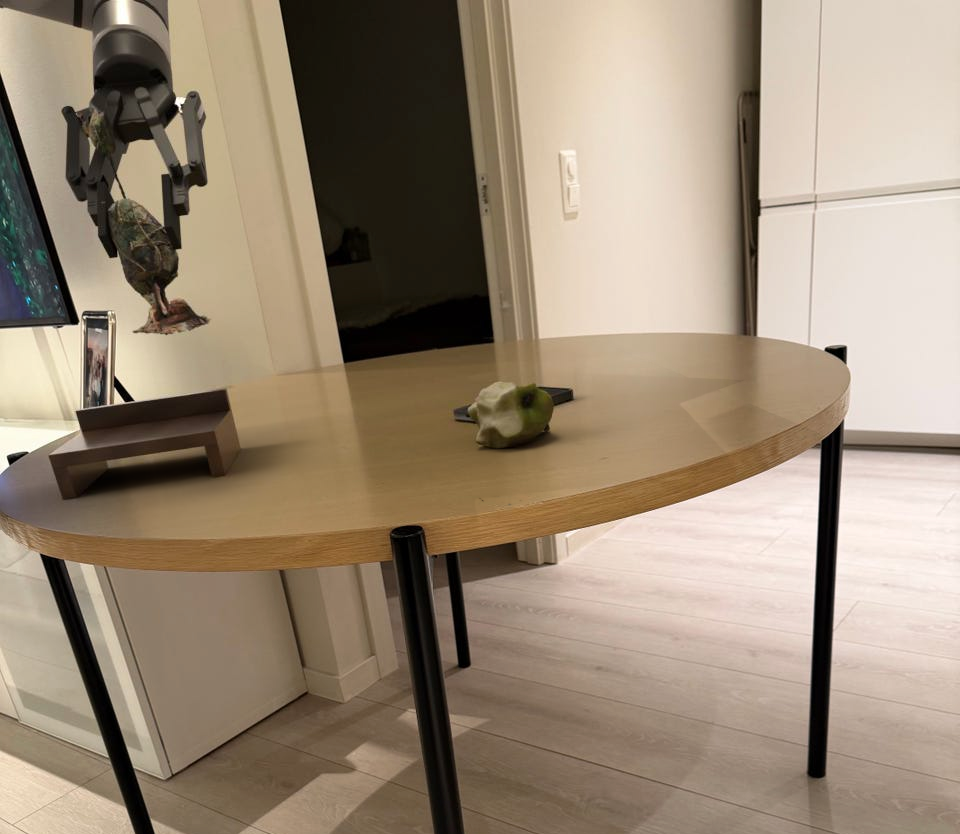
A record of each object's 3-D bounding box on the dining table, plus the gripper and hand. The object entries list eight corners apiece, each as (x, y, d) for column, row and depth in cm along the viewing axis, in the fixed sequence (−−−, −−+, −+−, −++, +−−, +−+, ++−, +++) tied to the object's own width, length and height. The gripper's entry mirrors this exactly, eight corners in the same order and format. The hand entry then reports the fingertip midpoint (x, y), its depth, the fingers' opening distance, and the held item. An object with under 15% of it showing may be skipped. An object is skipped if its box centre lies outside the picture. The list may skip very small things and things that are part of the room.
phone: (576, 388, 114) (490, 414, 106) (577, 397, 115) (491, 423, 106) (533, 386, 120) (448, 410, 111) (534, 394, 120) (450, 419, 112)
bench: (62, 499, 98) (40, 432, 95) (96, 469, 111) (77, 409, 108) (225, 475, 99) (208, 407, 96) (240, 448, 112) (226, 388, 109)
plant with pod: (113, 345, 84) (42, 101, 76) (148, 331, 94) (89, 115, 86) (198, 333, 84) (136, 87, 75) (224, 321, 94) (172, 103, 86)
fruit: (563, 456, 94) (550, 384, 89) (476, 474, 95) (460, 403, 90) (555, 422, 101) (543, 353, 96) (475, 438, 102) (460, 371, 97)
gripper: (232, 88, 94) (249, 259, 86) (58, 110, 93) (58, 285, 85) (212, 17, 87) (228, 197, 79) (23, 40, 86) (20, 223, 78)
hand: (140, 242), depth 82 cm, fingers closed on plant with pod, 5 cm apart
